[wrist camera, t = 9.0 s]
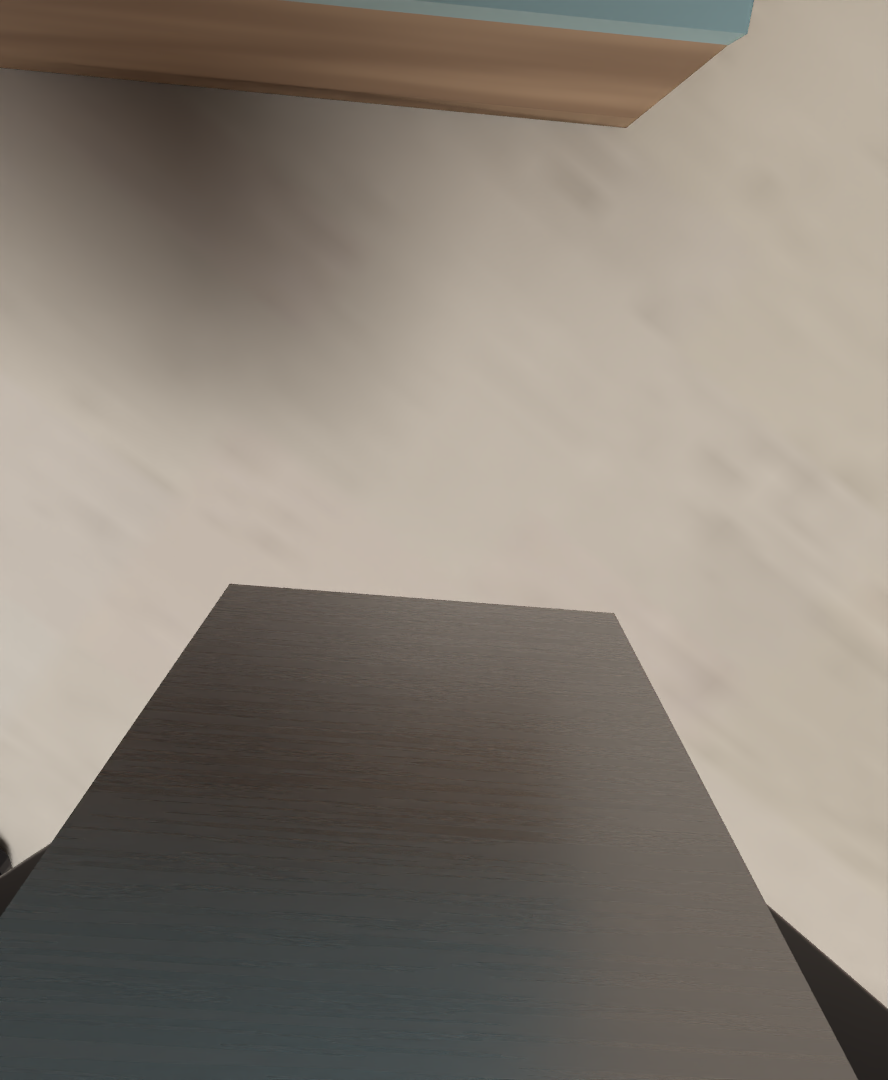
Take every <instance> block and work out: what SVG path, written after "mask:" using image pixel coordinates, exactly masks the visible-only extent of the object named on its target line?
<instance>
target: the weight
mask: <svg viewBox="0 0 888 1080" xmlns="http://www.w3.org/2000/svg"><path fill="white" fill-rule="evenodd" d="M0 1080H858V1079H857V1077H856V1075H855V1073H854V1071H853V1069H852V1067H851V1065H850V1063H849V1061H848V1060H847V1058H846V1056H845V1054H844V1052H843V1050H842V1048H841V1046H840V1044H839V1042H838V1040H837V1039H836V1037H835V1035H834V1033H833V1031H832V1029H831V1027H830V1025H829V1023H828V1021H827V1019H826V1017H825V1016H824V1014H823V1012H822V1010H821V1008H820V1006H819V1004H818V1002H817V1000H816V998H815V996H814V995H813V993H812V991H811V989H810V987H809V985H808V983H807V981H806V979H805V977H804V975H803V974H802V972H801V970H800V968H799V966H798V964H797V962H796V960H795V958H794V956H793V954H792V952H791V951H790V949H789V947H788V945H787V943H786V941H785V939H784V937H783V935H782V933H781V931H780V930H779V928H778V926H777V924H776V922H775V920H774V918H773V916H772V914H771V912H770V910H769V908H768V907H767V905H766V903H765V901H764V899H763V897H762V895H761V893H760V891H759V889H758V887H757V886H756V884H755V882H754V880H753V878H752V876H751V874H750V872H749V870H748V868H747V866H746V865H745V863H744V861H743V859H742V857H741V855H740V853H739V851H738V849H737V847H736V845H735V843H734V842H733V840H732V838H731V836H730V834H729V832H728V830H727V828H726V826H725V824H724V822H723V821H722V819H721V817H720V815H719V813H718V811H717V809H716V807H715V805H714V803H713V801H712V800H711V798H710V796H709V794H708V792H707V790H706V788H705V786H704V784H703V782H702V780H701V778H700V777H699V775H698V773H697V771H696V769H695V767H694V765H693V763H692V761H691V759H690V757H689V756H688V754H687V752H686V750H685V748H684V746H683V744H682V742H681V740H680V738H679V736H678V734H677V733H676V731H675V729H674V727H673V725H672V723H671V721H670V719H669V717H668V715H667V713H666V712H665V710H664V708H663V706H662V704H661V702H660V700H659V698H658V696H657V694H656V692H655V691H654V689H653V687H652V685H651V683H650V681H649V679H648V677H647V675H646V673H645V671H644V669H643V668H642V666H641V664H640V662H639V660H638V658H637V656H636V654H635V652H634V650H633V648H632V647H631V645H630V643H629V641H628V639H627V637H626V635H625V633H624V631H623V629H622V627H621V626H620V624H619V622H618V620H617V618H616V616H615V614H614V613H603V612H590V611H577V610H564V609H551V608H538V607H525V606H512V605H499V604H486V603H473V602H460V601H447V600H434V599H421V598H408V597H395V596H382V595H369V594H356V593H343V592H330V591H317V590H304V589H291V588H278V587H264V586H251V585H238V584H229V586H228V587H227V588H226V590H225V591H224V593H223V594H222V596H221V597H220V599H219V600H218V602H217V603H216V604H215V606H214V607H213V609H212V610H211V612H210V613H209V615H208V616H207V618H206V619H205V620H204V622H203V623H202V625H201V626H200V628H199V629H198V631H197V632H196V634H195V635H194V636H193V638H192V639H191V641H190V642H189V644H188V645H187V647H186V648H185V650H184V651H183V652H182V654H181V655H180V657H179V658H178V660H177V661H176V663H175V664H174V665H173V667H172V668H171V670H170V671H169V673H168V674H167V676H166V677H165V679H164V680H163V681H162V683H161V684H160V686H159V687H158V689H157V690H156V692H155V693H154V695H153V696H152V697H151V699H150V700H149V702H148V703H147V705H146V706H145V708H144V709H143V711H142V712H141V713H140V715H139V716H138V718H137V719H136V721H135V722H134V724H133V725H132V726H131V728H130V729H129V731H128V732H127V734H126V735H125V737H124V738H123V740H122V741H121V742H120V744H119V745H118V747H117V748H116V750H115V751H114V753H113V754H112V756H111V757H110V758H109V760H108V761H107V763H106V764H105V766H104V767H103V769H102V770H101V772H100V773H99V774H98V776H97V777H96V779H95V780H94V782H93V783H92V785H91V786H90V787H89V789H88V790H87V792H86V793H85V795H84V796H83V798H82V799H81V801H80V802H79V803H78V805H77V806H76V808H75V809H74V811H73V812H72V814H71V815H70V817H69V818H68V819H67V821H66V822H65V824H64V825H63V827H62V828H61V830H60V831H59V833H58V834H57V835H56V837H55V838H54V840H53V841H52V843H51V844H50V846H49V847H48V849H47V850H46V851H45V853H44V854H43V856H42V857H41V859H40V860H39V862H38V863H37V864H36V866H35V867H34V869H33V870H32V872H31V873H30V875H29V876H28V878H27V879H26V880H25V882H24V883H23V885H22V886H21V888H20V889H19V891H18V892H17V894H16V895H15V896H14V898H13V899H12V901H11V902H10V904H9V905H8V907H7V908H6V910H5V911H4V912H3V914H2V915H1V917H0Z"/></svg>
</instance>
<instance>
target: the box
mask: <svg viewBox="0 0 888 1080" xmlns="http://www.w3.org/2000/svg"><path fill="white" fill-rule="evenodd" d="M726 46H727V45H722V44H712V43H702V42H692V41H682V40H672V39H662V38H652V37H643V36H633V35H623V34H613V33H603V32H593V31H583V30H573V29H563V28H553V27H543V26H533V25H523V24H513V23H503V22H493V21H483V20H473V19H463V18H453V17H443V16H433V15H423V14H413V13H403V12H393V11H383V10H373V9H363V8H353V7H343V6H334V5H324V4H314V3H304V2H294V1H284V0H0V68H11V69H21V70H31V71H42V72H52V73H62V74H73V75H83V76H94V77H104V78H114V79H125V80H135V81H145V82H156V83H166V84H177V85H187V86H197V87H208V88H218V89H229V90H239V91H249V92H260V93H270V94H280V95H291V96H301V97H312V98H322V99H332V100H343V101H353V102H363V103H374V104H384V105H395V106H405V107H415V108H426V109H436V110H446V111H457V112H467V113H478V114H488V115H498V116H509V117H519V118H530V119H540V120H550V121H561V122H571V123H581V124H592V125H602V126H613V127H623V128H626V127H628V126H629V125H630V124H631V123H633V122H634V121H635V120H636V119H638V118H639V117H640V116H641V115H642V114H644V113H645V112H646V111H647V110H649V109H650V108H651V107H652V106H654V105H655V104H656V103H657V102H658V101H660V100H661V99H662V98H663V97H665V96H666V95H667V94H668V93H670V92H671V91H672V90H673V89H674V88H676V87H677V86H678V85H679V84H681V83H682V82H683V81H684V80H686V79H687V78H688V77H689V76H691V75H692V74H693V73H694V72H695V71H697V70H698V69H699V68H700V67H702V66H703V65H704V64H705V63H707V62H708V61H709V60H710V59H711V58H713V57H714V56H715V55H716V54H718V53H719V52H720V51H721V50H723V49H724V48H725V47H726Z"/></svg>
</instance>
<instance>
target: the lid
mask: <svg viewBox="0 0 888 1080" xmlns="http://www.w3.org/2000/svg"><path fill="white" fill-rule="evenodd" d="M284 1H294V2H304V3H314V4H324V5H334V6H343V7H353V8H363V9H373V10H383V11H393V12H403V13H413V14H423V15H433V16H443V17H453V18H463V19H473V20H483V21H493V22H503V23H513V24H523V25H533V26H543V27H553V28H563V29H573V30H583V31H593V32H603V33H613V34H623V35H633V36H643V37H652V38H662V39H672V40H682V41H692V42H702V43H712V44H722V45H729V44H731V43H732V42H734V41H736V40H738V39H739V38H741V37H743V36H744V35H746V34H747V32H748V27H749V22H750V17H751V12H752V7H753V2H754V0H284Z"/></svg>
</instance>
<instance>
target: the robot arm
mask: <svg viewBox="0 0 888 1080" xmlns="http://www.w3.org/2000/svg"><path fill="white" fill-rule="evenodd" d="M50 844H51V843H50ZM50 844H49V845H47V846H46V847H44V848H43V849H41V850H40V851H38V852H37V853H35V854H34V855H32V856H30V857H29V858H27V859H26V860H24V861H23V862H21V863H20V864H18V865H17V866H15V867H14V868H11V862H10V859H9V856H8V855H7V854H6V853H5V852H4V851H3V850H2V849H0V917H1V915H2V914H3V912H4V911H5V910H6V908H7V907H8V905H9V904H10V902H11V901H12V899H13V898H14V896H15V895H16V894H17V892H18V891H19V889H20V888H21V886H22V885H23V883H24V882H25V880H26V879H27V878H28V876H29V875H30V873H31V872H32V870H33V869H34V867H35V866H36V864H37V863H38V862H39V860H40V859H41V857H42V856H43V854H44V853H45V851H46V850H47V849H48V847H49V846H50ZM766 905H767V904H766ZM767 907H768V908H769V910H770V912H771V914H772V916H773V918H774V920H775V922H776V924H777V926H778V928H779V930H780V931H781V933H782V935H783V937H784V939H785V941H786V943H787V945H788V947H789V949H790V951H791V952H792V954H793V956H794V958H795V960H796V962H797V964H798V966H799V968H800V970H801V972H802V974H803V975H804V977H805V979H806V981H807V983H808V985H809V987H810V989H811V991H812V993H813V995H814V996H815V998H816V1000H817V1002H818V1004H819V1006H820V1008H821V1010H822V1012H823V1014H824V1016H825V1017H826V1019H827V1021H828V1023H829V1025H830V1027H831V1029H832V1031H833V1033H834V1035H835V1037H836V1039H837V1040H838V1042H839V1044H840V1046H841V1048H842V1050H843V1052H844V1054H845V1056H846V1058H847V1060H848V1061H849V1063H850V1065H851V1067H852V1069H853V1071H854V1073H855V1075H856V1077H857V1079H858V1080H888V1008H887V1007H885V1006H884V1005H883V1004H882V1003H881V1002H880V1001H878V1000H877V999H876V998H875V997H874V996H873V995H871V994H870V993H869V992H868V991H867V990H866V989H865V988H863V987H862V986H861V985H860V984H859V983H858V982H856V981H855V980H854V979H853V978H852V977H851V976H849V975H848V974H847V973H846V972H845V971H844V970H842V969H841V968H840V967H839V966H838V965H837V964H836V963H834V962H833V961H832V960H831V959H830V958H829V957H827V956H826V955H825V954H824V953H823V952H822V951H820V950H819V949H818V948H817V947H816V946H815V945H813V944H812V943H811V942H810V941H809V940H808V939H807V938H805V937H804V936H803V935H802V934H801V933H800V932H798V931H797V930H796V929H795V928H794V927H793V926H791V925H790V924H789V923H788V922H787V921H786V920H784V919H783V918H782V917H781V916H780V915H779V914H778V913H776V912H775V911H774V910H773V909H772V908H771V907H769V906H768V905H767Z"/></svg>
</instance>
